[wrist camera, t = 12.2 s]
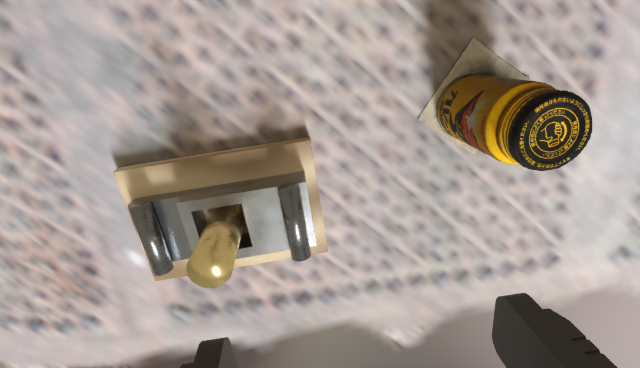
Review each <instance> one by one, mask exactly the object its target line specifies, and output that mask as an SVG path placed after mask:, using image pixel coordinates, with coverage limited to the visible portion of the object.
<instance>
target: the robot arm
mask: <svg viewBox="0 0 640 368" xmlns="http://www.w3.org/2000/svg"><path fill="white" fill-rule="evenodd" d="M492 339H493V344H494V347H495V350H496V352H497V354H498V356H499V357H500V359H501V360H502V362H503V363H504V365H505V366H506V368H617V367H616V366H615V365H614V364H613V363H612V362H611V361H610V360H609V359H608V358H607V357H606V356H605V355H604V354H601V353H600V351H599V349H598V348H597V347H596V346H595V345H594V344H593V343H592V342H591V341H590V340H587V339H586V337H585V336H584V335H583V334H582V333H581V332H580V331H579V330H578V329H577V328H576V327H575V326H574V325H573V324H572V323H571V322H570V321H569V320H567V319H566V318H564V317H562V316H561V315H559V314H557V313H556V312H554V311H552V310H551V309H542V308H541V307H540V306H539V305H538V304H537V303H536V302H535V301H534V300H533V299H532V298H531V297H530V296H529V295H528V294H526V293H520V294H513V295H506V296H500V297H498V298H497V299H496V303H495V312H494V321H493V331H492ZM180 368H238V367H237V363H236V360H235V356H234V353H233V350H232V346H231V343H230V340H229V338H228V337H226V338H220V339H213V340H207V341H202V342H201V343H200V344H199V347H198V350H197V353H196V357H195V360H194V363H189V364H182V366H181V367H180Z"/></svg>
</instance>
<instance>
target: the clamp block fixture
mask: <svg viewBox="0 0 640 368" xmlns="http://www.w3.org/2000/svg"><path fill="white" fill-rule="evenodd" d="M113 174H114V176H115V179H116V181H117V184H118V187H119V189H120V192H121V194H122V197H123V199H124V202H125V205H126V207H127V210H128V212H129V215H130V217H131V220H132V222H133V225H134V228H135V230H136V233H137V235H138V238H139V240H140V243H141V246H142V248H143V251H144V253H145V256H146V258H147V261H148V263H149V266H150V269H151V271H152V274H153V276H154V279H155V281H159V280H165V279H171V278H177V277H182V276H188V274H187V270H186V267H187V263H188V260H189V258H190V256H191V254H192V252H193V250H194V248H195V246H196V244H197V242H198V240H199V238H200V236H201V234H202V232H203V230H204V228H205V226H206V224H207V222H208V220H209V218H210V216H211V214H212V211H213V209H214V208H217V207H223V206H229V205H235V204H241V205H242V207H243V211H244V215H245V219H246V221H245V224H244V228H243V232H242V236H241V240H240V243H239V247H238V251H237V255H236V258H235V262H234V266H233V268H235V267H241V266H247V265H253V264H259V263H265V262H271V261H277V260H283V259H289V258H292V259H293V260H294V261H304V260H307V259H308V258H309V257H310V256H311V255H312V254H318V253H324V252H328V249H327V243H326V236H325V230H324V223H323V217H322V211H321V204H320V198H319V192H318V185H317V179H316V173H315V166H314V160H313V154H312V147H311V141H310V137H305V138H298V139H292V140H286V141H280V142H273V143H267V144H261V145H255V146H249V147H242V148H236V149H230V150H224V151H217V152H211V153H205V154H199V155H193V156H186V157H180V158H174V159H168V160H161V161H155V162H149V163H143V164H137V165H130V166H124V167H120V168H118V169H117V170H115V171H114V172H113Z"/></svg>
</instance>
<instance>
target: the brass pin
mask: <svg viewBox="0 0 640 368" xmlns="http://www.w3.org/2000/svg"><path fill="white" fill-rule="evenodd" d="M245 221H246V219H245V215H244V211H243V207H242V205H241V204H235V205H229V206H223V207H217V208H214V209H213V211H212V214H211V216H210V218H209V220H208V222H207V224H206V226H205V228H204V230H203V232H202V234H201V236H200V238H199V240H198V242H197V244H196V246H195V248H194V250H193V252H192V254H191V256H190V258H189V260H188V263H187V267H186V270H187V274H188V276H189V278H190V279H191V280H192V281H193V282H194V283H195V284H197V285H199V286H202V287H205V288H215V287H219V286H221V285H223V284H225V283H226V282H227V281H228V280H229V278H230V276H231V274H232V270H233V266H234V262H235V258H236V255H237V251H238V247H239V243H240V240H241V236H242V232H243V228H244V224H245Z"/></svg>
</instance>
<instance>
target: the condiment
mask: <svg viewBox="0 0 640 368" xmlns="http://www.w3.org/2000/svg"><path fill="white" fill-rule="evenodd" d="M477 69H478V71H476V72H475V70H477ZM472 71H473V73H471V72H472ZM418 120H419V121H421V122H423V123H424V124H426V125H427V126H429V127H430V128H432V129H433V130H435V131H437V132H438V133H440V134H441V135H443V136H444V137H446V138H448V139H449V140H451V141H452V142H454V143H455V144H457V145H458V146H460V147H462V148H463V149H465V150H466V151H468V152H469V153H471V154H473V155H475V154H476V153H477V151H478V150H480V151H482V152H483V153H485V154H488V155H490V156H492V157H493V158H494V159H496V160H498V161H501V162H504V163H507V164H519V165H522V166H523V167H526V168H528V169H532V170H538V171H546V170H552V169H557V168H560V167H562V166H563V165H565V164H567V163H568V162H570V161H571V160H573V159H574V158H575V157H577V156H578V154H579V153H580V152H581V151H582V150H583V149H584V147H585V146H586V144H587V142H588V141H589V139H590V136H591V133H592V116H591V112H590V108H589V106H588V104H587V103H586V102H585V101H584V100H583V99H582V98H581V97H579V96H578V95H576V94H574V93H572V92H568V91H560V90H556V89H555V88H553V87H552V86H550V85H548V84H545V83H542V82H536V81H531V80H530V79H529V78H527V77H526V76H524V75H523V74H521V73H520V72H519V71H517V70H516V69H515V68H513V67H512V66H511V65H509V64H508V63H506V62H505V61H504V60H502V59H501V58H500V57H498V56H497V55H496V54H495V53H493V52H492V51H491V50H489V49H488V48H487V47H485V46H484V45H483V44H482V43H480V42H479V41H478V40H476V39H475V38H474V37H473V39H472V40H471V41H470V43H469V45H468V46H467V48H466V49H465V50H464V52H463V53H462V55H461V57H460V58H459V59H458V61H457V62H456V64H455V65H454V67H453V68H452V70H451V71H450V72H449V74H448V75H447V77H446V78H445V79H444V81H443V82H442V84H441V85H440V87H439V88H438V90H437V91H436V93H435V94H434V95H433V97H432V98H431V100H430V101H429V103H428V104H427V106H426V107H425V109H424V110H423V112H422V113H421V115H420V116H419V118H418Z"/></svg>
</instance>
